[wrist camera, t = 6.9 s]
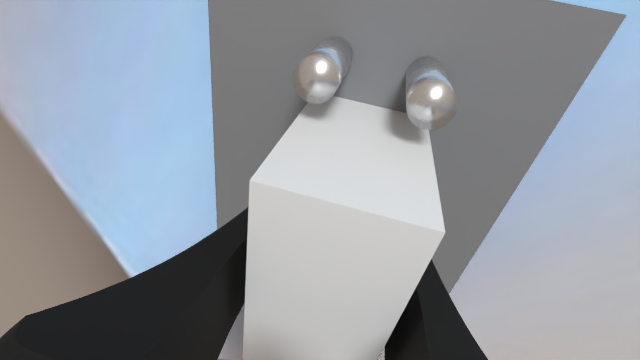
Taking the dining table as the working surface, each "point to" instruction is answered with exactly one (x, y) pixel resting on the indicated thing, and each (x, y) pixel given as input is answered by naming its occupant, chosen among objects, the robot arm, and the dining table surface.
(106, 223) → the dining table surface
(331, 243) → the block
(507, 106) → the pin tray
